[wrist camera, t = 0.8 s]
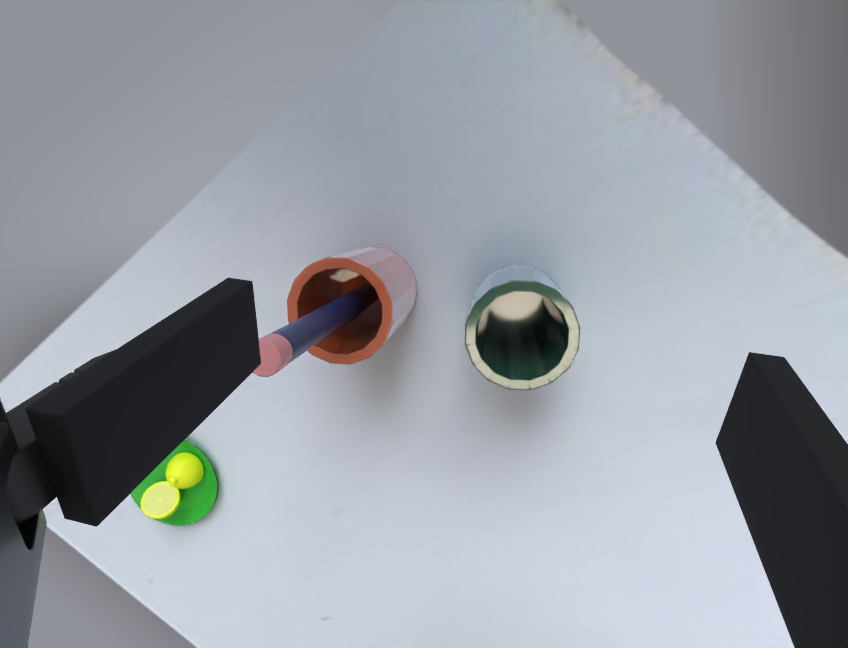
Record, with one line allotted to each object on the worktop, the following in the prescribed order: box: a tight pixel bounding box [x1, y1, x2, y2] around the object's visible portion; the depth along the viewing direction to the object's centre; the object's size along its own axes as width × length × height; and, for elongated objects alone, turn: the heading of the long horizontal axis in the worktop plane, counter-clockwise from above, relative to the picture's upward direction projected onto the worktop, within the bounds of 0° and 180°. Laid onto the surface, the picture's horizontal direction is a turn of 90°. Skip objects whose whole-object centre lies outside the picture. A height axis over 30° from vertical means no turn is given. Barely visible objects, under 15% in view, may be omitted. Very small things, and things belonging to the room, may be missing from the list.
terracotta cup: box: [287, 247, 417, 364], centre depth 34 cm, size 6×6×9 cm
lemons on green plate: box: [130, 440, 217, 526], centre depth 42 cm, size 8×8×3 cm
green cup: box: [465, 264, 580, 390], centre depth 33 cm, size 6×6×9 cm
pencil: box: [253, 282, 379, 377], centre depth 29 cm, size 1×1×18 cm
